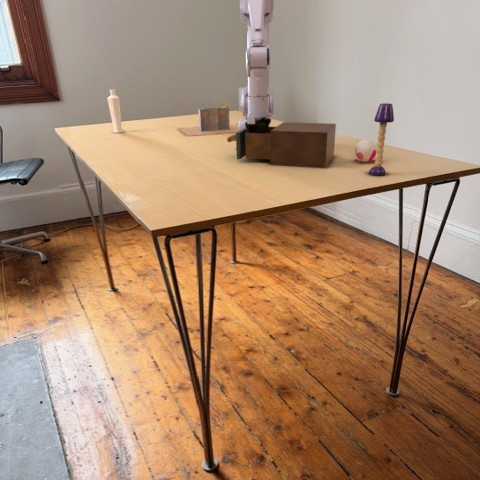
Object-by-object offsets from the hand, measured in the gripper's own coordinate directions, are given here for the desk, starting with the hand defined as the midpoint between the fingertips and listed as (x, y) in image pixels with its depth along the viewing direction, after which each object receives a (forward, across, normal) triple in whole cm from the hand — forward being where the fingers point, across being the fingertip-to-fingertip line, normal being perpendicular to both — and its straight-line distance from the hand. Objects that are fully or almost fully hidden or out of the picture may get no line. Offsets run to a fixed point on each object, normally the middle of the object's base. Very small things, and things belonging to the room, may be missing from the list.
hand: (258, 146), depth 142 cm
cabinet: (+3, 0, -13) cm, 14 cm away
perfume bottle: (+3, +32, +67) cm, 74 cm away
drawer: (+2, 0, -1) cm, 2 cm away
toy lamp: (+3, -10, -35) cm, 37 cm away
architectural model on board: (+3, +44, +31) cm, 53 cm away
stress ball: (+3, +2, -31) cm, 32 cm away
